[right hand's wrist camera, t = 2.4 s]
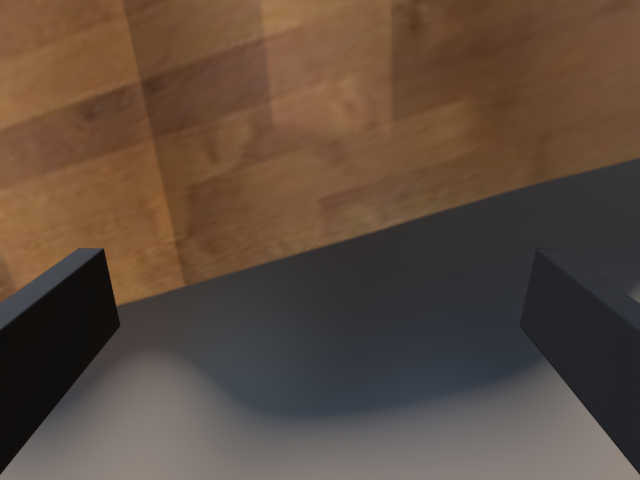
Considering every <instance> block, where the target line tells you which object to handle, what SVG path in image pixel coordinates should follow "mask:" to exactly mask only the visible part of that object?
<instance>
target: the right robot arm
mask: <svg viewBox="0 0 640 480" xmlns="http://www.w3.org/2000/svg"><path fill="white" fill-rule="evenodd" d="M119 327H120V322H119V317H118V313H117V308H116V303H115V299H114V294H113V289H112V285H111V280H110V275H109V271H108V266H107V262H106V257H105V252H104V248H78V249H77V250H76V251H74V252H73V253H71V254H70V255H68V256H67V257H66V258H64V259H63V260H61V261H60V262H59V263H57V264H56V265H54V266H53V267H51V268H50V269H49V270H47V271H46V272H44V273H43V274H42V275H40V276H39V277H37V278H36V279H34V280H33V281H32V282H30V283H29V284H27V285H26V286H25V287H23V288H22V289H20V290H19V291H17V292H16V293H15V294H13V295H12V296H10V297H9V298H8V299H6V300H5V301H3V302H2V303H0V474H1V473H2V472H3V471H4V469H5V468H6V467H7V466H8V464H9V463H10V462H11V461H12V459H13V458H14V457H15V456H16V454H17V453H18V452H19V451H20V449H21V448H22V447H23V446H24V445H25V443H26V442H27V441H28V440H29V438H30V437H31V436H32V435H33V433H34V432H35V431H36V430H37V428H38V427H39V426H40V425H41V423H42V422H43V421H44V420H45V418H46V417H47V416H48V415H49V413H50V412H51V411H52V410H53V409H54V407H55V406H56V405H57V404H58V402H59V401H60V400H61V399H62V397H63V396H64V395H65V394H66V392H67V391H68V390H69V389H70V387H71V386H72V385H73V384H74V383H75V381H76V380H77V379H78V378H79V376H80V375H81V374H82V373H83V371H84V370H85V369H86V368H87V366H88V365H89V364H90V363H91V361H92V360H93V359H94V358H95V356H96V355H97V354H98V353H99V352H100V350H101V349H102V348H103V347H104V345H105V344H106V343H107V342H108V340H109V339H110V338H111V337H112V335H113V334H114V333H115V332H116V330H117V329H118V328H119ZM520 327H521V328H522V329H523V330H524V332H525V333H526V334H527V335H528V337H529V338H530V339H531V340H532V342H533V343H534V344H535V345H536V347H537V348H538V349H539V350H540V352H541V353H542V354H543V355H544V356H545V358H546V359H547V360H548V361H549V363H550V364H551V365H552V366H553V368H554V369H555V370H556V371H557V373H558V374H559V375H560V376H561V377H562V379H563V380H564V381H565V383H566V384H567V385H568V386H569V387H570V389H571V390H572V391H573V392H574V394H575V395H576V396H577V397H578V399H579V400H580V401H581V402H582V404H583V405H584V406H585V407H586V409H587V410H588V411H589V412H590V414H591V415H592V416H593V417H594V418H595V420H596V421H597V422H598V423H599V425H600V426H601V427H602V428H603V430H604V431H605V432H606V433H607V435H608V436H609V437H610V438H611V440H612V441H613V442H614V443H615V444H616V446H617V447H618V448H619V449H620V451H621V452H622V453H623V454H624V456H625V457H626V458H627V459H628V461H629V462H630V463H631V464H632V466H633V467H634V468H635V469H636V470H637V472H638V473H639V474H640V303H638V302H637V301H635V300H634V299H632V298H631V297H630V296H628V295H627V294H625V293H624V292H622V291H621V290H620V289H618V288H617V287H615V286H614V285H613V284H611V283H610V282H608V281H607V280H606V279H604V278H603V277H601V276H600V275H598V274H597V273H596V272H594V271H593V270H591V269H590V268H588V267H587V266H586V265H584V264H583V263H581V262H580V261H579V260H577V259H576V258H574V257H573V256H572V255H570V254H569V253H567V252H566V251H564V250H563V249H561V248H537V249H536V252H535V257H534V262H533V266H532V271H531V275H530V280H529V285H528V289H527V294H526V299H525V303H524V308H523V313H522V317H521V322H520Z"/></svg>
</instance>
